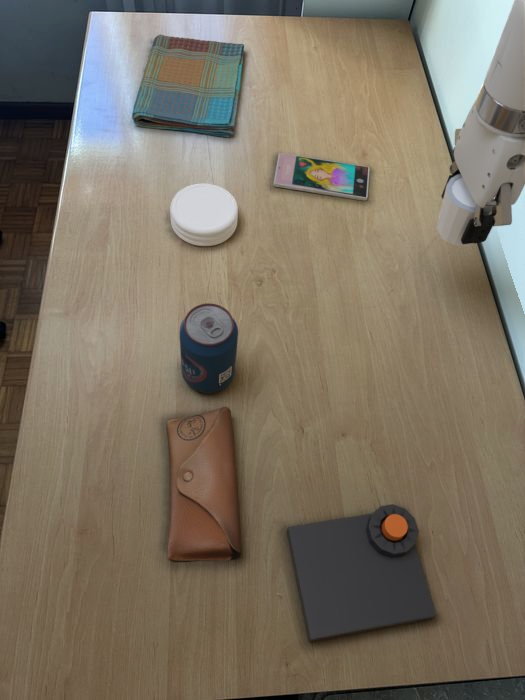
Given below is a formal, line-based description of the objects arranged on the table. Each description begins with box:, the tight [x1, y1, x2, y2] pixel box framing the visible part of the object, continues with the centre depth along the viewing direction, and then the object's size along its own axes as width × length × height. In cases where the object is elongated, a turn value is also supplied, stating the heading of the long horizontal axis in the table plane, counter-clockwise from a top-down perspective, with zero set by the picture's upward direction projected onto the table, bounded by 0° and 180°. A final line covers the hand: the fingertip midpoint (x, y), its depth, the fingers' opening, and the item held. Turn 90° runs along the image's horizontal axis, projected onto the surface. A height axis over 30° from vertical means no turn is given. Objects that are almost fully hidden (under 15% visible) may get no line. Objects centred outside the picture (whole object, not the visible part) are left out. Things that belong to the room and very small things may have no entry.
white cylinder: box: [436, 174, 492, 247], centre depth 85 cm, size 7×7×7 cm
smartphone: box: [272, 152, 370, 202], centre depth 107 cm, size 7×1×15 cm
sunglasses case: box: [166, 406, 242, 563], centre depth 78 cm, size 18×7×7 cm
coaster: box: [169, 182, 239, 247], centre depth 99 cm, size 10×10×4 cm
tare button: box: [382, 514, 408, 541], centre depth 74 cm, size 3×3×2 cm
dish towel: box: [131, 34, 245, 138], centre depth 115 cm, size 17×23×2 cm
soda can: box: [179, 302, 239, 394], centre depth 82 cm, size 7×7×12 cm
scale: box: [286, 503, 437, 643], centre depth 74 cm, size 14×12×4 cm
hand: (462, 218), depth 86 cm, fingers closed on white cylinder, 6 cm apart
